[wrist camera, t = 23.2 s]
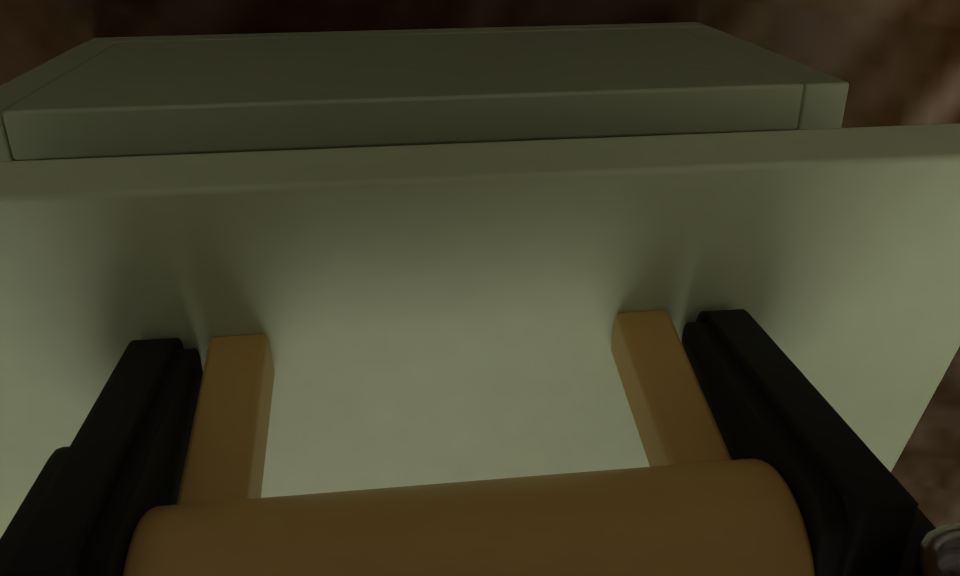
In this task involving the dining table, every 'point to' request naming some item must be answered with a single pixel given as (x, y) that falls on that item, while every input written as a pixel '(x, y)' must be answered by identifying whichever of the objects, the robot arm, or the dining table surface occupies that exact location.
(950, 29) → the dining table surface
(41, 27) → the dining table surface
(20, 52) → the dining table surface
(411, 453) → the lid
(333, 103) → the chest
